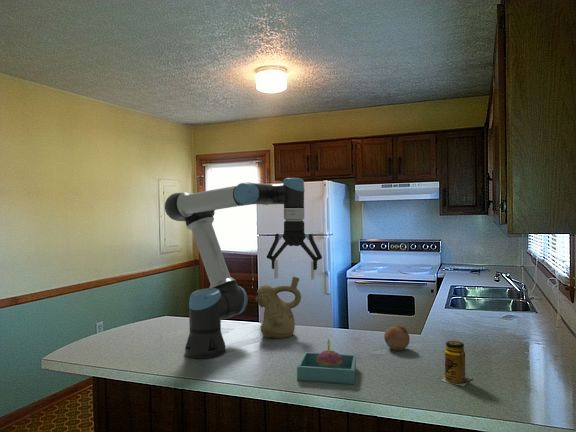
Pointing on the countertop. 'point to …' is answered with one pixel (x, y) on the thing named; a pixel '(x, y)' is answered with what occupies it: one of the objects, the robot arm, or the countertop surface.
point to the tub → (326, 370)
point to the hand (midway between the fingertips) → (294, 278)
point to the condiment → (455, 364)
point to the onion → (397, 337)
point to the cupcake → (329, 358)
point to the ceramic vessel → (278, 310)
